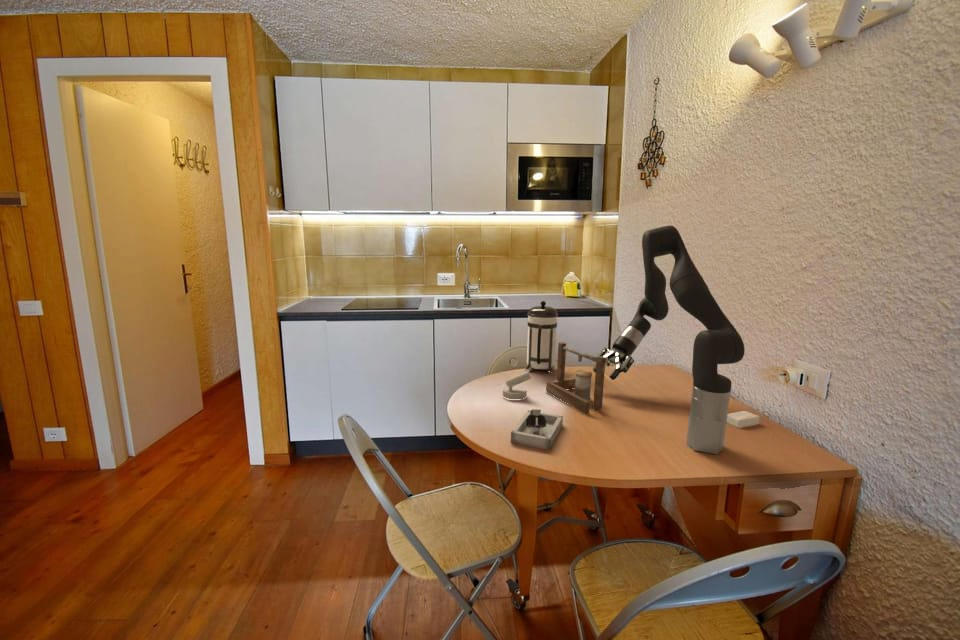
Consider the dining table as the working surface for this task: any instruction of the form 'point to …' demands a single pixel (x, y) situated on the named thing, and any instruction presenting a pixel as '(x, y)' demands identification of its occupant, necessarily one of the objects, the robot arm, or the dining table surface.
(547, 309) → the coffee press
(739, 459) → the dining table surface
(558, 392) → the wooden frame rack
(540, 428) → the power plug
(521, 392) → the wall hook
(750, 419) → the soap
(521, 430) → the plug tray
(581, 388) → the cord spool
